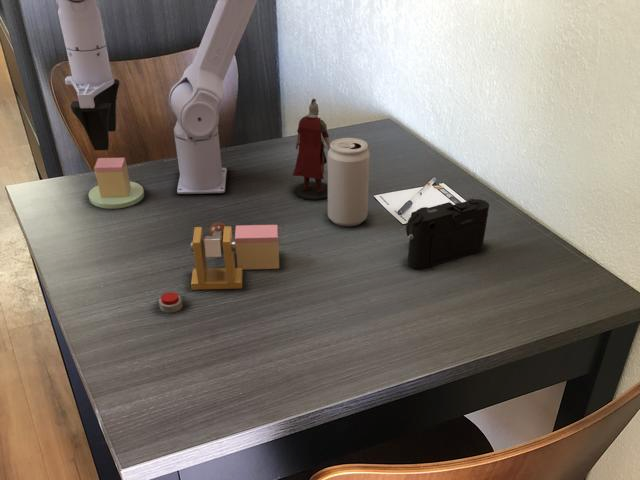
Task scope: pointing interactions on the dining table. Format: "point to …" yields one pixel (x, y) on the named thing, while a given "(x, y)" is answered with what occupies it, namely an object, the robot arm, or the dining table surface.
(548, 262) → the dining table surface
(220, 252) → the cutter
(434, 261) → the camera
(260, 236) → the cake
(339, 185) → the beverage can
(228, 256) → the stand
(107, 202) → the plate
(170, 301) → the push button
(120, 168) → the cake slice
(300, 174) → the figurine
